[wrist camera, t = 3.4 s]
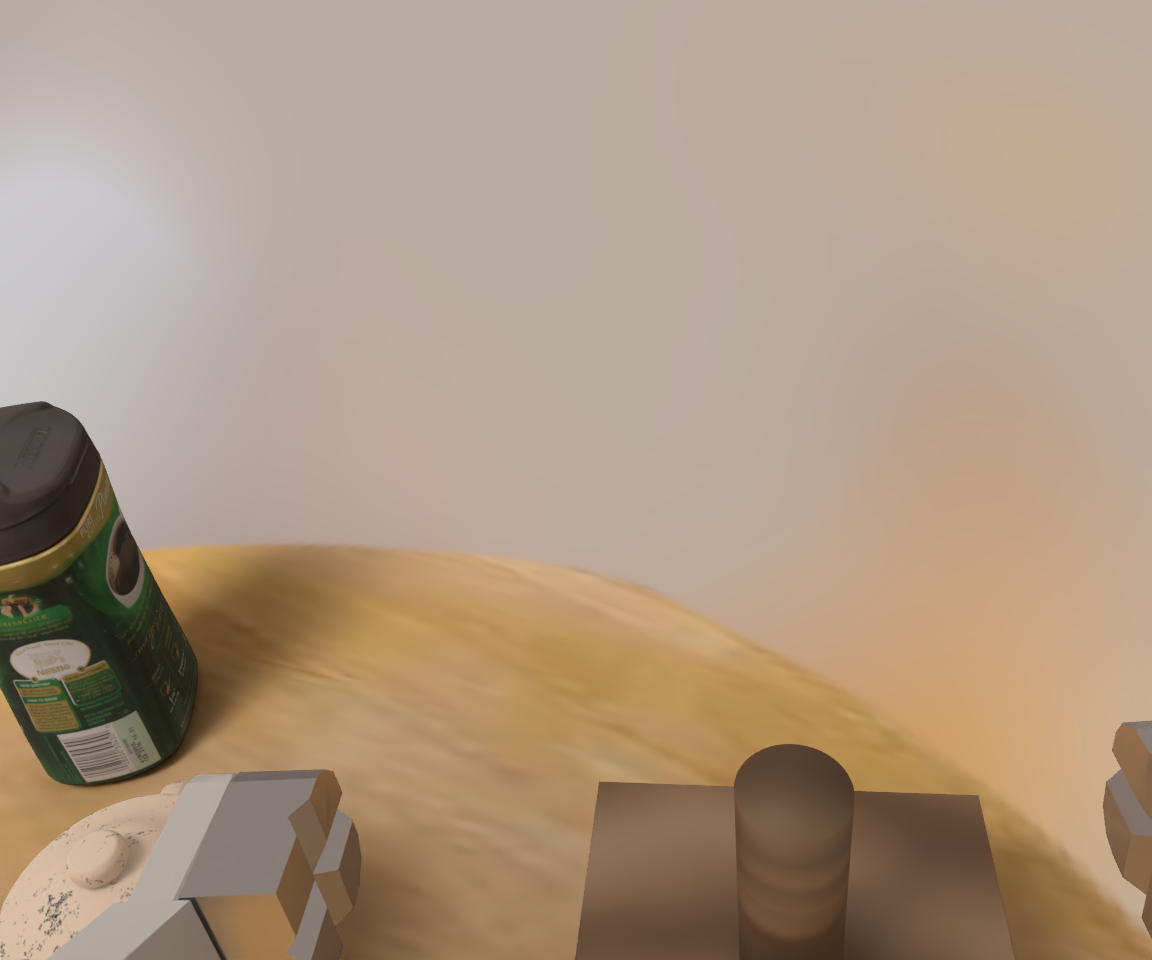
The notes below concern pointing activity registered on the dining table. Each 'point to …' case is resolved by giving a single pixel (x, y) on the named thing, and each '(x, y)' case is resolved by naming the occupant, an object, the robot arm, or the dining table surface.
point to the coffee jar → (82, 611)
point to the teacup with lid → (82, 875)
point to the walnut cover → (789, 870)
